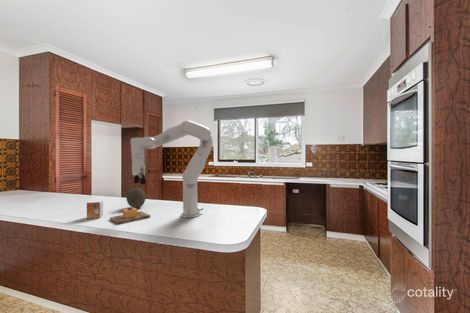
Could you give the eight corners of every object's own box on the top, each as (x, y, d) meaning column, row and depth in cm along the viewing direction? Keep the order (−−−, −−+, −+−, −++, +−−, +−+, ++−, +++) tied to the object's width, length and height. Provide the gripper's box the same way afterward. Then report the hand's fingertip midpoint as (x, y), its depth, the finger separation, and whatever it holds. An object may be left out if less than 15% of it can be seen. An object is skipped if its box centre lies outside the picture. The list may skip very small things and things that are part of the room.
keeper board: (141, 213, 155) (141, 203, 155) (150, 217, 145) (150, 206, 145) (109, 219, 141) (109, 208, 141) (117, 224, 131) (117, 212, 131)
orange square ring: (133, 214, 148) (133, 207, 148) (137, 216, 143) (137, 209, 143) (123, 216, 143) (122, 209, 143) (126, 218, 139) (126, 211, 138)
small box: (86, 218, 143) (86, 202, 143) (90, 216, 149) (90, 200, 148) (100, 218, 145) (99, 202, 145) (103, 215, 150) (103, 200, 150)
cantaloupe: (150, 206, 174) (149, 187, 173) (133, 211, 162) (133, 190, 162) (138, 204, 181) (138, 186, 181) (122, 208, 169) (121, 188, 169)
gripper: (127, 157, 146) (128, 183, 147) (137, 157, 134) (139, 185, 135) (138, 156, 152) (140, 181, 152) (149, 156, 139) (151, 183, 140)
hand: (139, 183), depth 143 cm, fingers open, 9 cm apart
